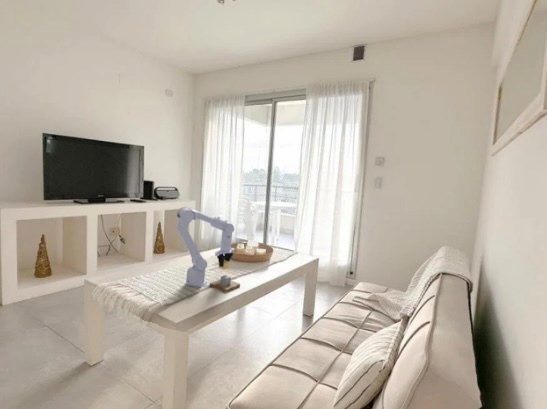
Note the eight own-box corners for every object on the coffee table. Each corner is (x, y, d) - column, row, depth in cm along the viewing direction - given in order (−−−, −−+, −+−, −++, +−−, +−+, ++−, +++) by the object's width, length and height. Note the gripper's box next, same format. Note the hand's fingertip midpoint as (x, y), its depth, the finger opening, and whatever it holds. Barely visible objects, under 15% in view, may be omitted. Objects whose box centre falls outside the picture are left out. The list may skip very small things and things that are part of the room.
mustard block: (223, 269, 174) (224, 263, 173) (218, 267, 176) (219, 261, 175) (228, 268, 177) (229, 261, 176) (223, 266, 179) (223, 259, 178)
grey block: (225, 285, 168) (226, 278, 167) (220, 283, 170) (220, 276, 169) (230, 283, 171) (231, 277, 170) (225, 281, 173) (225, 274, 172)
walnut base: (225, 292, 162) (225, 290, 162) (209, 285, 169) (209, 283, 169) (239, 286, 172) (240, 284, 172) (224, 280, 179) (224, 277, 179)
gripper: (222, 246, 166) (220, 270, 168) (239, 242, 178) (237, 264, 180) (213, 243, 170) (211, 266, 171) (230, 239, 182) (228, 261, 184)
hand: (223, 265), depth 176 cm, fingers closed on mustard block, 4 cm apart
